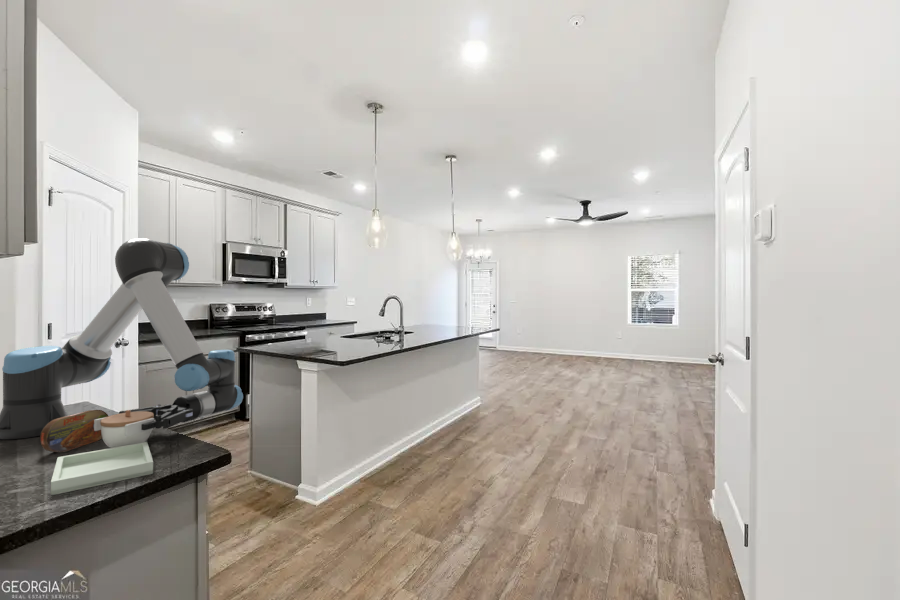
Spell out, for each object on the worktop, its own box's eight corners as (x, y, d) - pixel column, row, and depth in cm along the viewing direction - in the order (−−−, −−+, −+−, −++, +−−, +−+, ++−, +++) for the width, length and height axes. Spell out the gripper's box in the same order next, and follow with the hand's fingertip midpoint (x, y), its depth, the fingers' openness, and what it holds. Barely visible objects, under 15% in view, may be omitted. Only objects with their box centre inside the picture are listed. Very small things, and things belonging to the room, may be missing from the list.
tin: (47, 457, 98) (47, 422, 98) (36, 456, 99) (37, 421, 99) (110, 437, 113) (111, 406, 113) (101, 436, 113) (102, 405, 113)
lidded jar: (151, 449, 104) (152, 412, 104) (96, 458, 98) (96, 418, 98) (154, 437, 113) (155, 403, 113) (104, 444, 107) (104, 408, 107)
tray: (57, 468, 91) (57, 457, 91) (146, 452, 102) (147, 441, 102) (50, 495, 79) (50, 481, 79) (153, 473, 90) (153, 461, 90)
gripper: (222, 423, 118) (142, 449, 97) (165, 415, 126) (80, 437, 105) (222, 397, 118) (142, 417, 98) (165, 390, 126) (80, 408, 105)
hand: (110, 428), depth 101 cm, fingers closed on lidded jar, 11 cm apart
